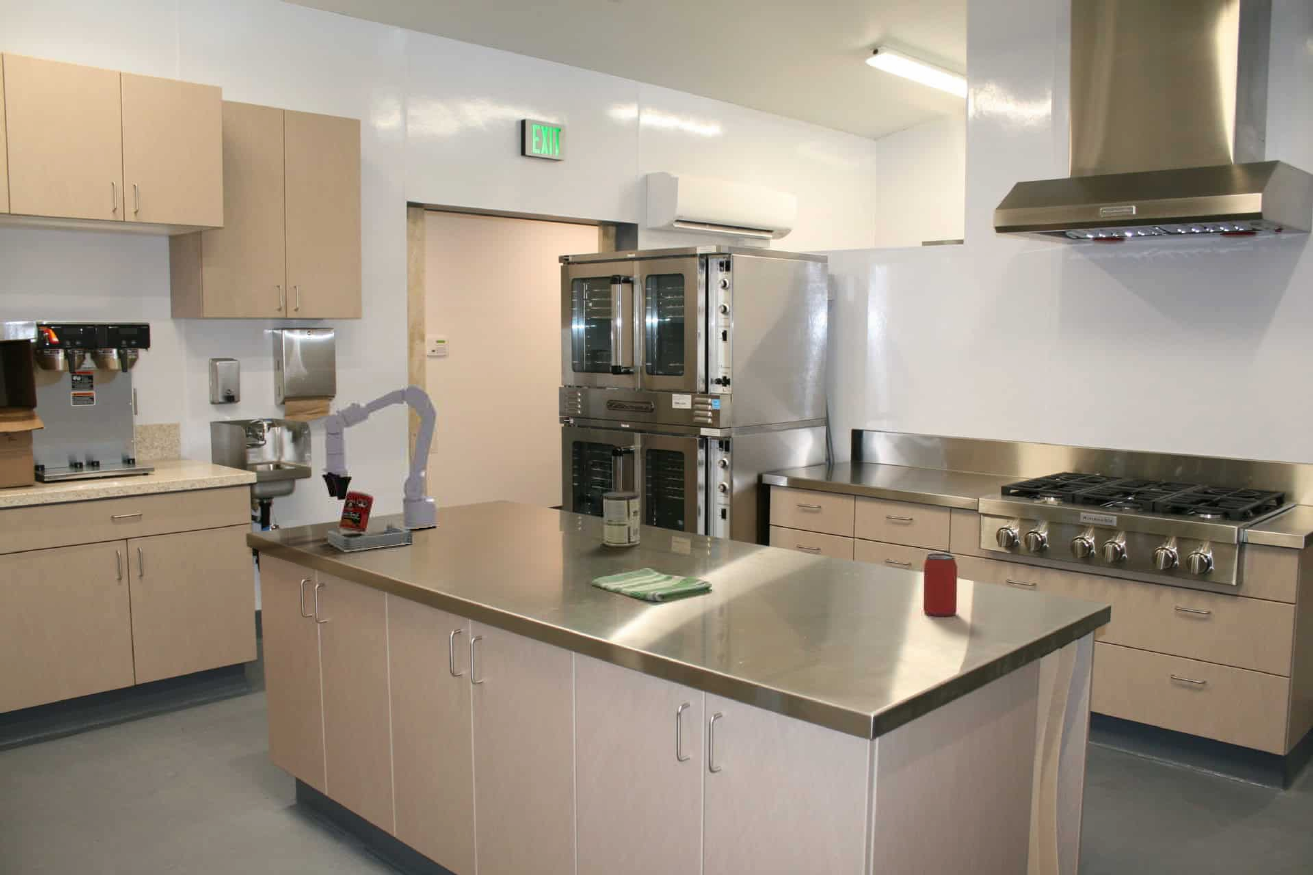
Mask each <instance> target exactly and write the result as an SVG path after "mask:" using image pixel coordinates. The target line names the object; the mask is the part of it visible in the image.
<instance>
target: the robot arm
mask: <svg viewBox="0 0 1313 875" xmlns="http://www.w3.org/2000/svg"><path fill="white" fill-rule="evenodd" d="M404 403H405V404H407V405H408V406H409V407H410V408H412V409H414V410H415V412H416V413H417V414H418V416H419V417H420V420H419V426H418V431H417V437H416V441H415V442H416V443H415V446H414V452H413V458H412V461H411V466H410V469H409V470H410V472H409V475H408V478H407V479H406V480H405V481H404V484H403V485H404V486H403V492H404V495H405V496H404V497H402V510H403V511H402V513H403V514H402V515H403V517H402V518H403V525H404V526H406V527H421V526H430V525H435V524H436V525H437V509H436V508H437V507H436V502H435V499H433V498H431V497H429V498H428V497H427V496H426V495H425V492H426V485H425V484H426V483H425V477H426V476H425V475H426V469H427V464H428V459H429V454H430V450H431V444H432V440H433V435H434V430H435V424H436V418H437V412H436V411H437V410H435V407H434V405H433V403H432V399H431V398H430V395H429V394H428V392H427V391H426V390H425V389H424V388H423V386H421V385H419V384H412V385H409V386H408V387H402V388H399V389H396V390H392V391H390V392H389V393H386V394H384V395H382V396H380V397H377V398H376V399H374V400H372V401H370V402H368V403H366V404H365V403H362V402H357V403H356V402H355V401H354V402H352V403H351V404H350V406H348V407H346V408H345V407H344V409H341V410H340V409H337V410H336V411H335V412H336V413H332V414H329V415H328V416H326V418H325V419H324V421H323V427H324V429H325V433H324V435H325V439H324V441H325V444H324V445H325V464H326V465H325V468H322V472H323V473H325V474H321V476H322V478H323V481H324V482H325V484H326V488H327V491H328V495H329V497H330V498H335V497H337V501H343V500H346V496H347V493H348V490H349V489H348V488H349V485H350V483H351V480H352V476H348V474H349V473H348V468H347V455H346V438H345V432H344V429H345V428H348V429H349V428H352V427H353V426H356V425H359V424H360V423H362V422H365V421H367V420H369V416H370V415H371V414H372V413H374V412H377V411H378V410H382V409H384V408H386V407H389V406H391V405H394V404H398V405H404Z"/></svg>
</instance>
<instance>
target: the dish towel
mask: <svg viewBox="0 0 1313 875" xmlns="http://www.w3.org/2000/svg"><path fill="white" fill-rule="evenodd" d="M590 585H592V586H595V587H597V588H601V589H604V590H608V591H611V592H614V593H617V594H622V595H624V596H629V597H633V598H637V599H641V600H645V601H652V602H653V601H654V602H658V603H659V602H661V603H663V602H667V601H668V602H669V601H672V600H676V599H682V598H686V596H687V597H690V596H689V595H691V596H694V595H695V594H696V595H700V594H704V593H709V591H710V592H713V589H712V586H713V584H712V583H711V582H709V581H708V580H705V579H700V578H694V577H689V576H678V575H675V574H663V573H660V572H656V571H655V570H653V569H652V568H649V567H645V568H641V569H639V570H635V571H629V572H622V573H619V574H613V575H607V576H602V577H601V576H600V577H598V578H595V579H593V580H592V581H591V582H590ZM699 593H700V594H699ZM696 595H695V596H696Z"/></svg>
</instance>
